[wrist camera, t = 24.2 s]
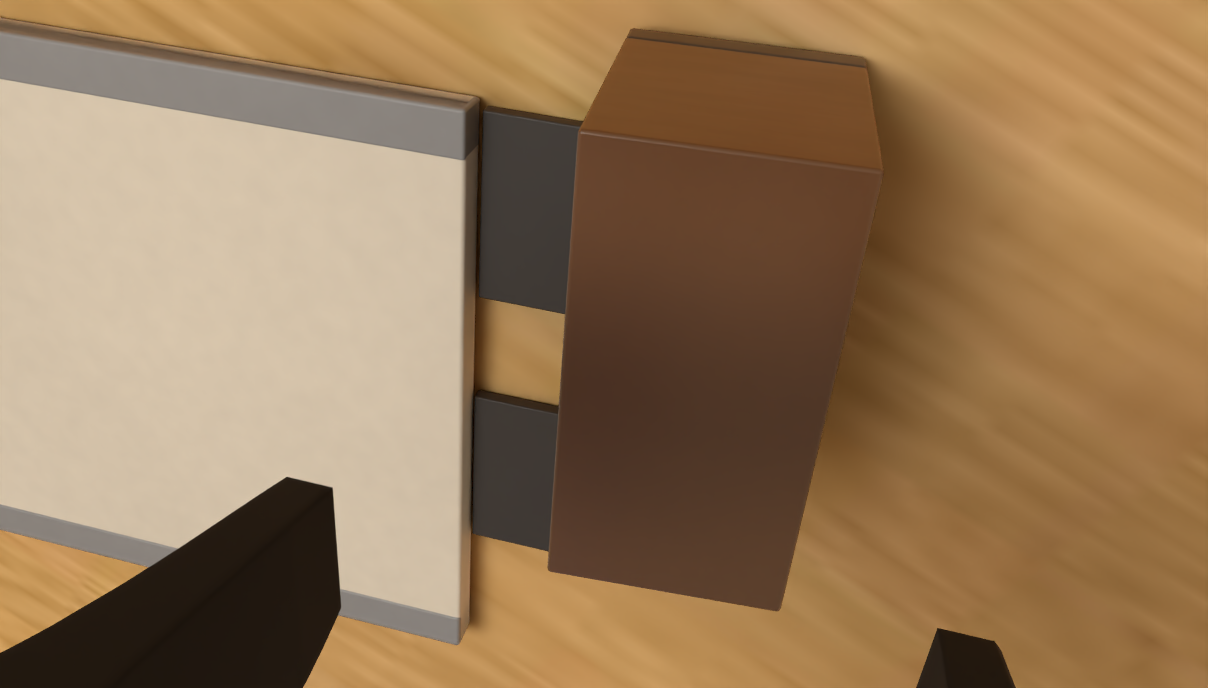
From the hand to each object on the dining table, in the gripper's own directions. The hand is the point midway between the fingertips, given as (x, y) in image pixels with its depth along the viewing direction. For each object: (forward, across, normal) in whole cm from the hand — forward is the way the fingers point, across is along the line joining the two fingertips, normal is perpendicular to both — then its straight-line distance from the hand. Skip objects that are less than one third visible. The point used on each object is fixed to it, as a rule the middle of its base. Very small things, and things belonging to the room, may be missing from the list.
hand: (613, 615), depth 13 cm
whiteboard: (+9, +15, +4) cm, 18 cm away
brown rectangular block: (+9, 0, 0) cm, 9 cm away
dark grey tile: (+9, +3, 0) cm, 10 cm away
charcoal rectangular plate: (+9, +3, +6) cm, 12 cm away
